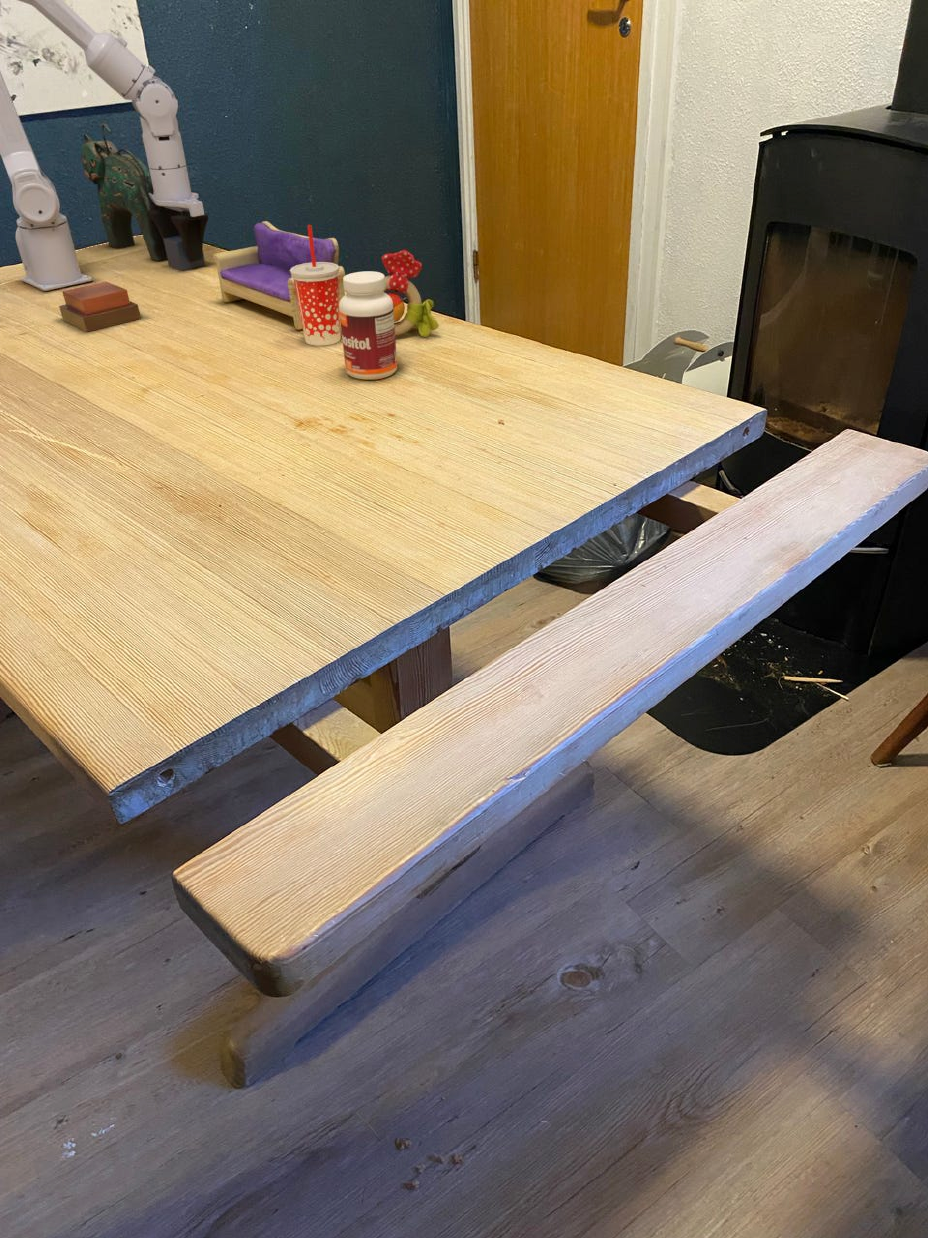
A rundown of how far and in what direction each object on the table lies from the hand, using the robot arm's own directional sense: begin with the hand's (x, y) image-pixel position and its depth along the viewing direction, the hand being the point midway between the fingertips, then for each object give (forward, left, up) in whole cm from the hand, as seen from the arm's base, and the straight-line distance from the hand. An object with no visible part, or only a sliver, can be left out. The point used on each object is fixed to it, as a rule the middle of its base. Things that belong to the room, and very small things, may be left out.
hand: (185, 256), depth 150 cm
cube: (0, 0, -1) cm, 1 cm away
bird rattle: (+55, +1, -2) cm, 55 cm away
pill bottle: (+62, -10, -2) cm, 63 cm away
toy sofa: (+33, -3, -2) cm, 33 cm away
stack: (+17, -23, -1) cm, 29 cm away
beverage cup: (+48, -7, -2) cm, 49 cm away
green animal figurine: (-16, 0, -2) cm, 16 cm away
